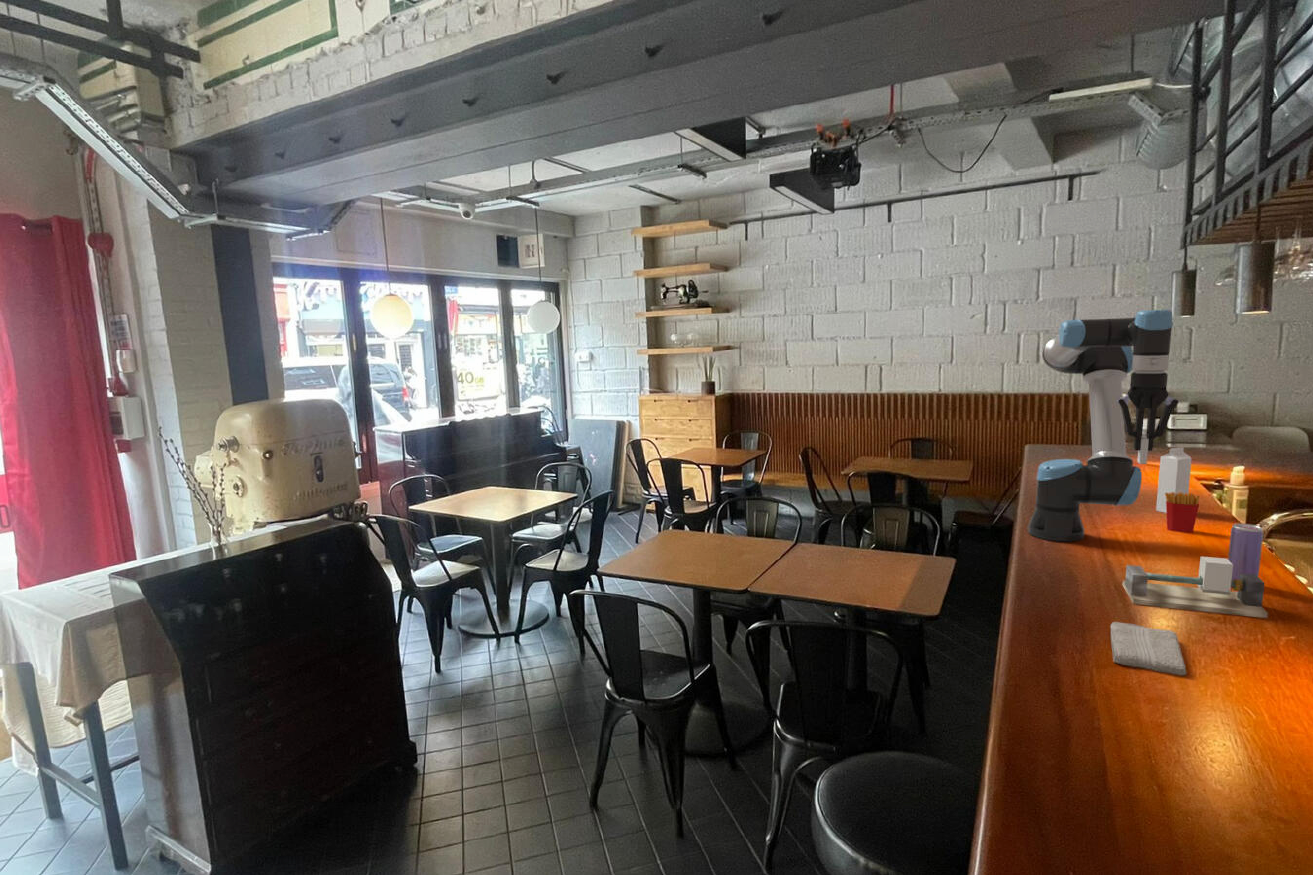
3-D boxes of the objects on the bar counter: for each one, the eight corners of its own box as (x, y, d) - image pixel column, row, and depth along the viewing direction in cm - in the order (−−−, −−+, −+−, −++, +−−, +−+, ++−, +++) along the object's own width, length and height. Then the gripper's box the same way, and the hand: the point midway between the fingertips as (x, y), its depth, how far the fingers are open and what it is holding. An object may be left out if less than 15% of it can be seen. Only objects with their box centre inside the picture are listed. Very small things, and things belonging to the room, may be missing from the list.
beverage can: (1250, 591, 166) (1256, 532, 164) (1220, 583, 172) (1226, 525, 169) (1261, 585, 169) (1268, 527, 166) (1232, 578, 174) (1239, 521, 172)
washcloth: (1174, 640, 145) (1176, 626, 144) (1188, 680, 130) (1189, 665, 129) (1107, 629, 151) (1108, 616, 150) (1113, 666, 136) (1114, 651, 135)
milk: (1186, 513, 229) (1193, 448, 225) (1172, 515, 227) (1179, 450, 224) (1168, 508, 235) (1175, 445, 231) (1155, 510, 233) (1161, 447, 229)
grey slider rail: (1133, 603, 162) (1135, 575, 161) (1122, 585, 173) (1124, 558, 172) (1267, 618, 152) (1270, 588, 151) (1247, 597, 163) (1250, 569, 162)
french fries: (1195, 530, 212) (1199, 492, 210) (1196, 533, 209) (1200, 495, 207) (1161, 526, 216) (1164, 489, 214) (1162, 530, 213) (1165, 492, 211)
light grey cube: (1202, 592, 159) (1206, 562, 158) (1197, 586, 163) (1200, 556, 162) (1229, 594, 157) (1233, 564, 156) (1223, 588, 161) (1227, 558, 160)
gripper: (1121, 373, 172) (1115, 464, 176) (1185, 372, 167) (1176, 467, 171) (1115, 370, 179) (1109, 458, 183) (1176, 370, 174) (1168, 461, 178)
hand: (1141, 462), depth 177 cm, fingers closed
